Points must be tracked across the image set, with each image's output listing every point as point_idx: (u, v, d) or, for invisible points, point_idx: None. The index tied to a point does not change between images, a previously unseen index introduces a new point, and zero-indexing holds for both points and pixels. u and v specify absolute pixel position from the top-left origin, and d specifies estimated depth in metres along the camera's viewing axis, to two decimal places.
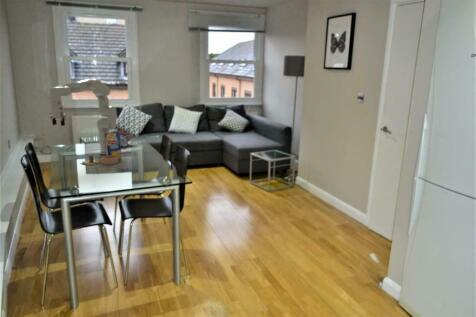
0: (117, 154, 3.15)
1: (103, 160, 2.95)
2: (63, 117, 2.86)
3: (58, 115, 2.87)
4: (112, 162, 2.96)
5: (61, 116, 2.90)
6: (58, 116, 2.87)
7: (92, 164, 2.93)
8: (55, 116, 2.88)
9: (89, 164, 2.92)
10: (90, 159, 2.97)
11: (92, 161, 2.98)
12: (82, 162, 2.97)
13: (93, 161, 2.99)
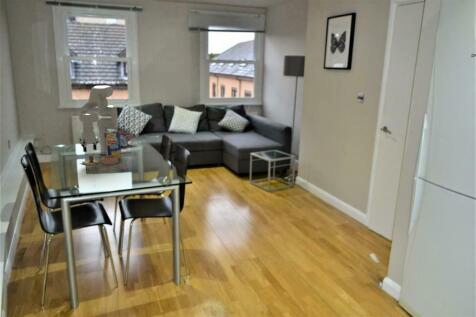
0: (117, 154, 3.15)
1: (103, 160, 2.95)
2: (97, 141, 3.01)
3: (94, 140, 2.97)
4: (112, 162, 2.96)
5: None
6: (94, 141, 2.97)
7: (92, 164, 2.93)
8: (91, 142, 2.94)
9: (89, 164, 2.92)
10: (90, 159, 2.97)
11: (92, 161, 2.98)
12: (82, 162, 2.97)
13: (93, 161, 2.99)
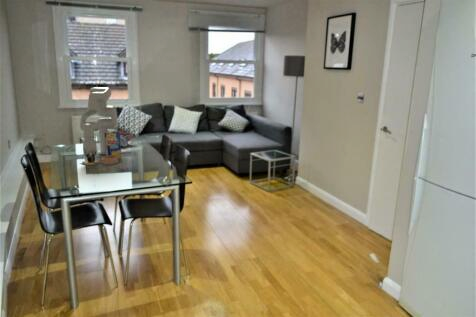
0: (117, 154, 3.15)
1: (103, 160, 2.95)
2: (95, 152, 3.01)
3: (95, 149, 2.99)
4: (112, 162, 2.96)
5: None
6: (95, 150, 2.99)
7: (92, 164, 2.93)
8: (92, 151, 2.96)
9: (89, 164, 2.92)
10: None
11: (92, 161, 2.98)
12: (82, 162, 2.97)
13: (93, 161, 2.99)
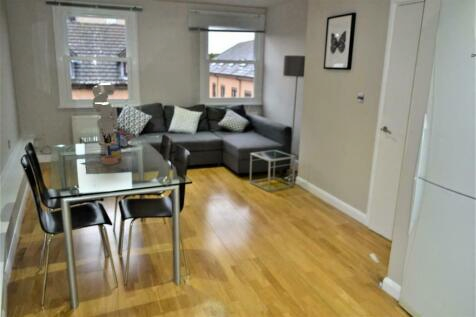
0: (117, 154, 3.15)
1: (103, 160, 2.95)
2: (112, 133, 2.99)
3: (112, 130, 2.97)
4: (112, 162, 2.96)
5: None
6: (112, 131, 2.97)
7: (109, 144, 2.91)
8: (109, 132, 2.94)
9: (106, 144, 2.90)
10: None
11: (109, 142, 2.96)
12: (99, 143, 2.95)
13: (110, 142, 2.97)
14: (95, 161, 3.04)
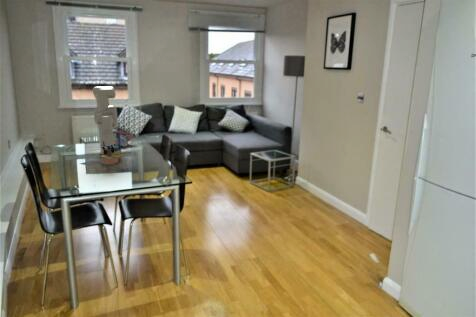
0: None
1: (103, 160, 2.95)
2: (115, 144, 3.03)
3: (113, 142, 2.99)
4: (112, 162, 2.96)
5: None
6: (113, 143, 2.99)
7: (110, 158, 2.93)
8: (110, 144, 2.96)
9: (107, 158, 2.93)
10: (108, 153, 2.97)
11: (110, 155, 2.98)
12: (100, 156, 2.97)
13: (111, 155, 2.99)
14: (95, 161, 3.04)
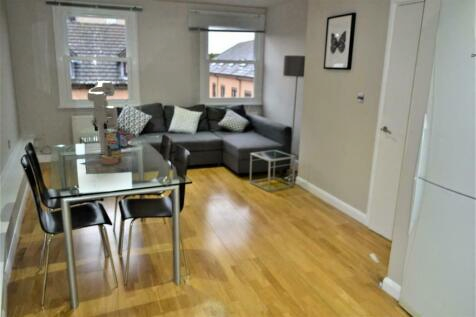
0: None
1: (103, 160, 2.95)
2: (107, 120, 3.05)
3: (105, 119, 3.01)
4: (112, 162, 2.96)
5: None
6: (105, 120, 3.01)
7: (110, 158, 2.93)
8: (102, 121, 2.98)
9: (107, 158, 2.93)
10: (108, 153, 2.97)
11: (110, 155, 2.98)
12: (100, 156, 2.97)
13: (111, 155, 2.99)
14: (95, 161, 3.04)
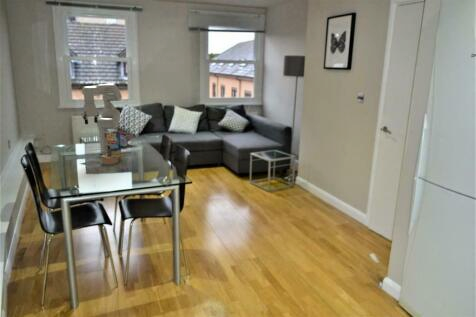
0: None
1: (103, 160, 2.95)
2: (98, 114, 3.12)
3: (95, 113, 3.08)
4: (112, 162, 2.96)
5: None
6: (95, 114, 3.08)
7: (110, 158, 2.93)
8: (92, 115, 3.05)
9: (107, 158, 2.93)
10: (108, 153, 2.97)
11: (110, 155, 2.98)
12: (100, 156, 2.97)
13: (111, 155, 2.99)
14: (95, 161, 3.04)
